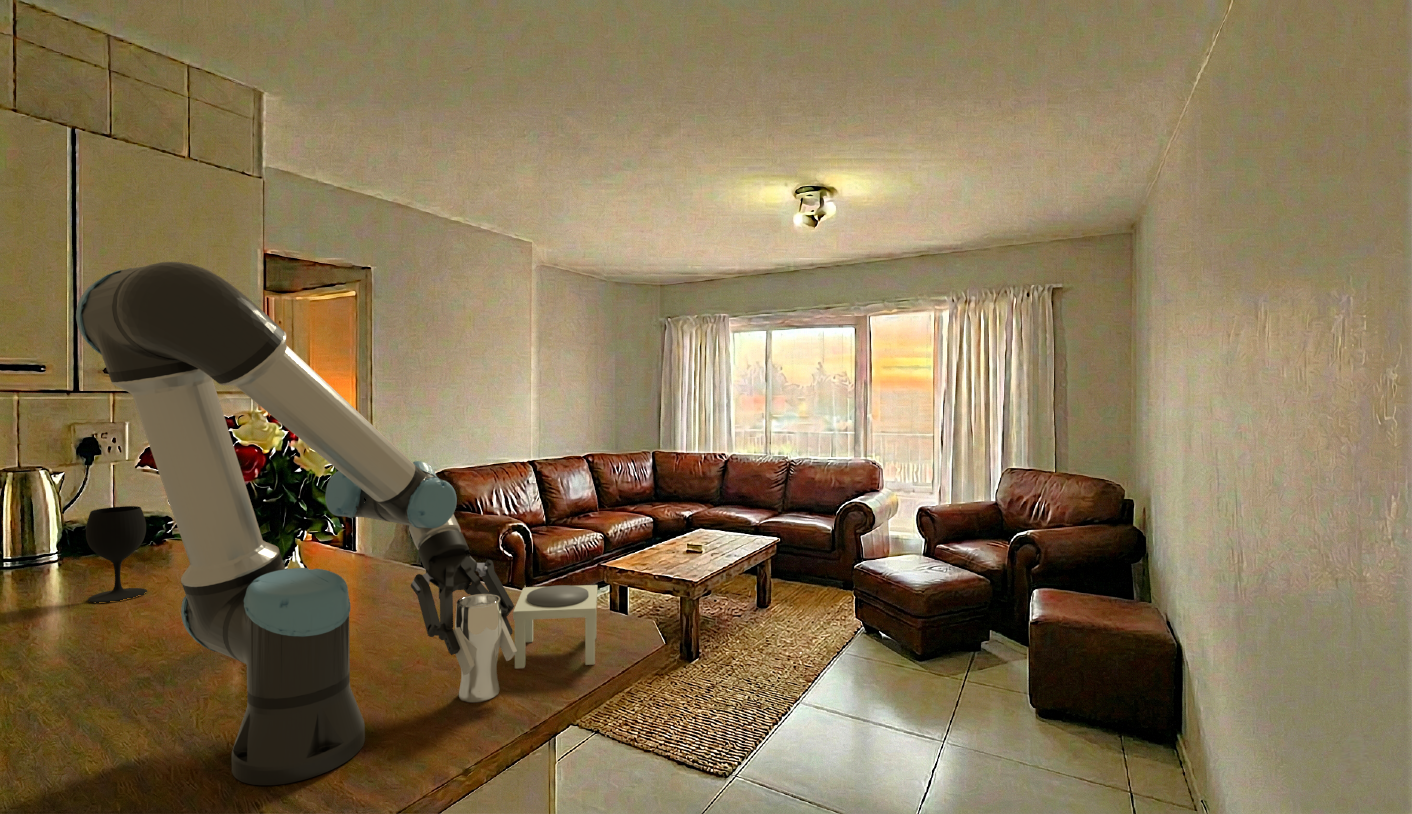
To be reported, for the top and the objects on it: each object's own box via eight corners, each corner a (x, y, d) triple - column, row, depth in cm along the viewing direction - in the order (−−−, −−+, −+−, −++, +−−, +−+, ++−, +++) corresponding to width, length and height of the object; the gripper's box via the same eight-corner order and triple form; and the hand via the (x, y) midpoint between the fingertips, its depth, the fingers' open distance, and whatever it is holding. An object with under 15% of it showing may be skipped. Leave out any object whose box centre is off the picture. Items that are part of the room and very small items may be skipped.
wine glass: (155, 594, 157) (153, 508, 157) (97, 606, 149) (94, 515, 148) (137, 587, 163) (135, 503, 162) (80, 598, 154) (78, 510, 154)
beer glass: (488, 706, 104) (487, 608, 103) (446, 701, 105) (445, 605, 105) (510, 686, 111) (509, 594, 110) (471, 682, 112) (470, 591, 111)
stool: (513, 668, 117) (513, 608, 117) (523, 638, 131) (523, 584, 131) (595, 664, 119) (595, 604, 119) (597, 635, 133) (597, 581, 133)
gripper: (484, 544, 125) (535, 656, 114) (374, 565, 110) (421, 695, 100) (499, 519, 121) (554, 633, 111) (387, 537, 107) (438, 670, 96)
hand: (490, 662), depth 105 cm, fingers closed on beer glass, 7 cm apart
